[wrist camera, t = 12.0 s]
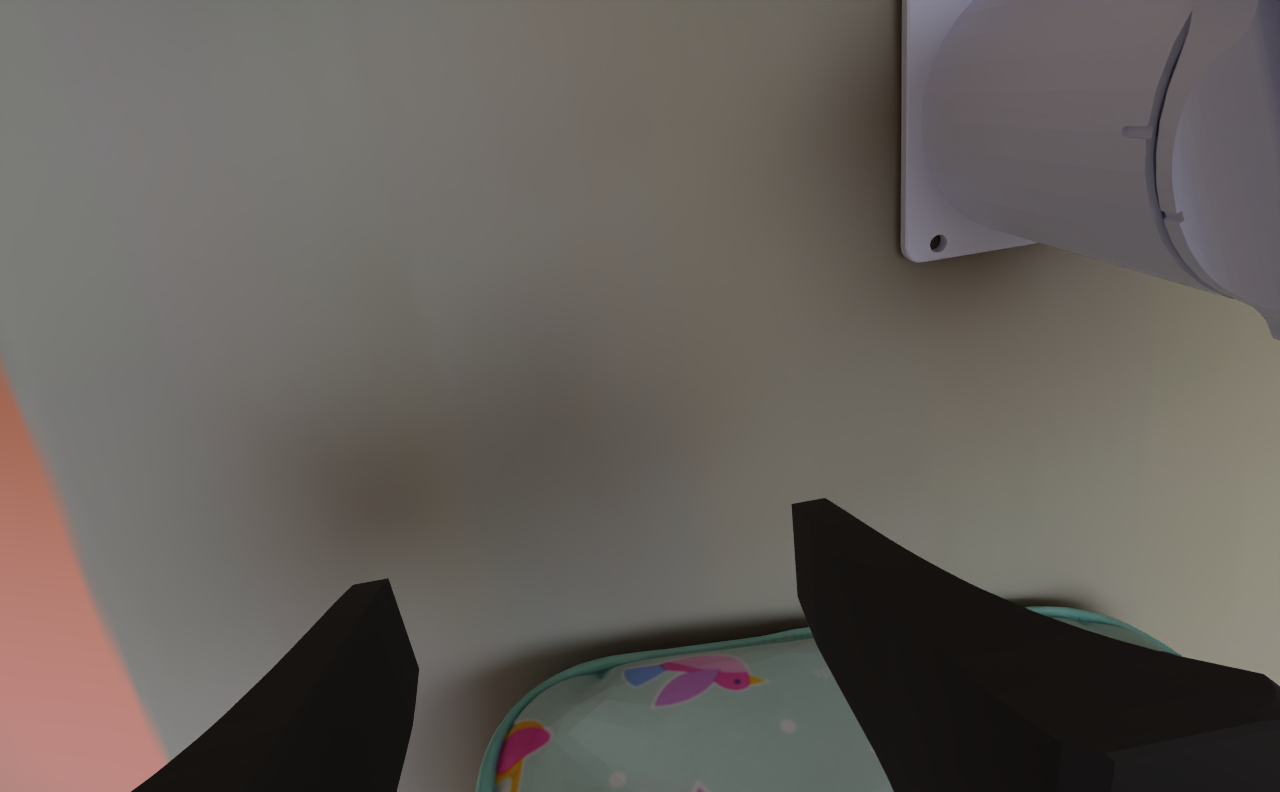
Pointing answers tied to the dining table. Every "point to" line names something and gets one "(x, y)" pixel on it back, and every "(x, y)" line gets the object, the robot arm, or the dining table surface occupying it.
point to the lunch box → (704, 721)
